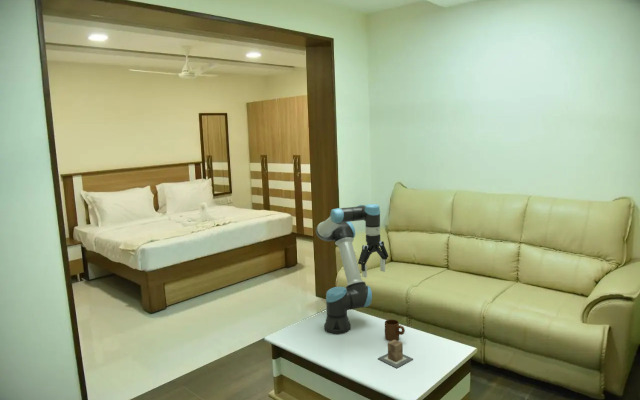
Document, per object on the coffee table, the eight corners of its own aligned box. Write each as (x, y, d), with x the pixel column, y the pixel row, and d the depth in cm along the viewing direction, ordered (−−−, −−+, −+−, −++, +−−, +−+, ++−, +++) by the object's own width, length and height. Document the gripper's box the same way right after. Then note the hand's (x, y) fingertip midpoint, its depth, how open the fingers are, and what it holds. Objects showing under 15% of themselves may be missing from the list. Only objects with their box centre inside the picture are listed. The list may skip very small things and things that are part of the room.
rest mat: (377, 359, 216) (377, 358, 216) (394, 351, 223) (394, 350, 223) (396, 368, 207) (396, 367, 207) (413, 359, 214) (413, 358, 214)
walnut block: (388, 358, 215) (387, 342, 214) (394, 354, 218) (394, 339, 217) (395, 362, 211) (395, 346, 210) (402, 358, 215) (402, 342, 213)
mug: (408, 340, 234) (408, 324, 233) (400, 345, 229) (399, 328, 228) (390, 334, 243) (390, 317, 241) (382, 338, 238) (381, 322, 236)
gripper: (360, 239, 217) (361, 281, 220) (394, 231, 233) (395, 270, 236) (350, 237, 223) (351, 277, 226) (384, 229, 239) (384, 267, 242)
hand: (373, 274), depth 231 cm, fingers open, 13 cm apart
